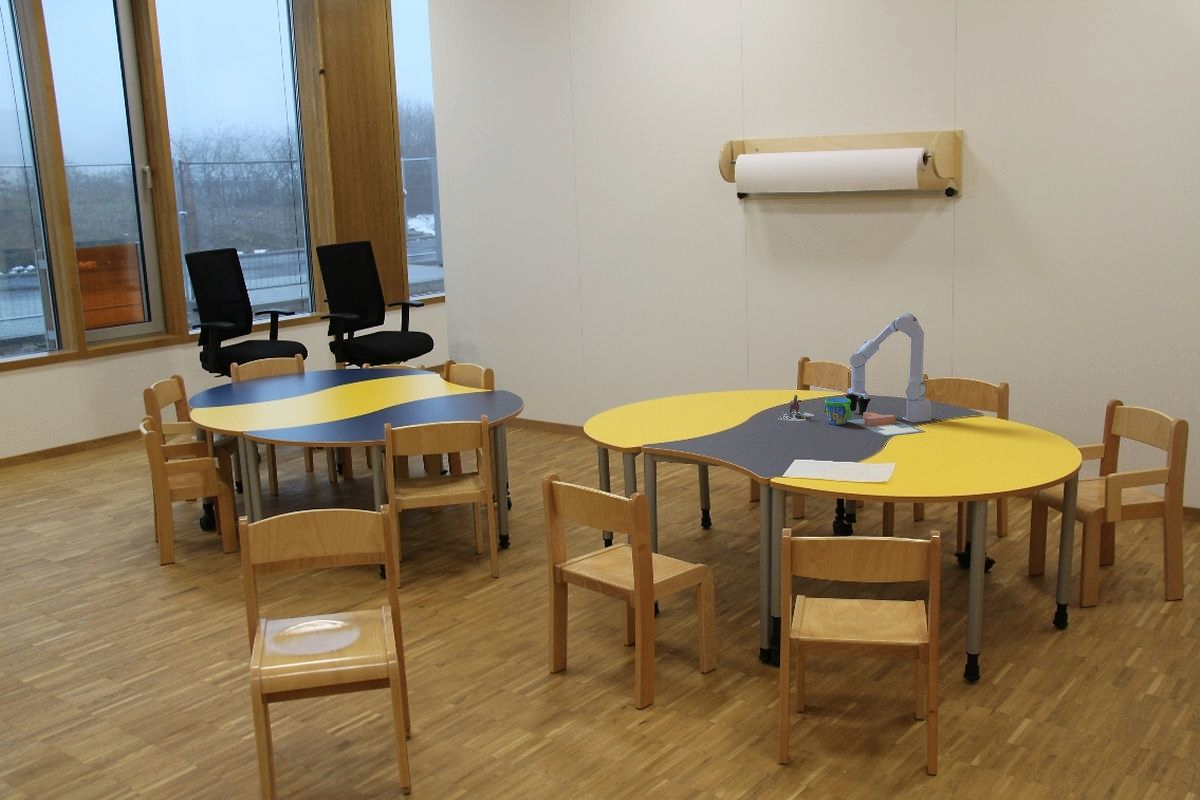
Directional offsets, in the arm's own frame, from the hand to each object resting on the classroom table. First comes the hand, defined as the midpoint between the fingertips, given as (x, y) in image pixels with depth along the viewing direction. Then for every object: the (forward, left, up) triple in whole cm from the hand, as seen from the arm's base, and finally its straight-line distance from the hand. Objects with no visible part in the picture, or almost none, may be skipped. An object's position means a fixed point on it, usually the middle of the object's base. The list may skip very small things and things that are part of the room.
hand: (857, 412), depth 478 cm
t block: (0, +15, -1) cm, 15 cm away
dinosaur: (+24, -11, -2) cm, 27 cm away
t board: (0, +22, -1) cm, 22 cm away
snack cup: (+15, +10, -2) cm, 18 cm away
